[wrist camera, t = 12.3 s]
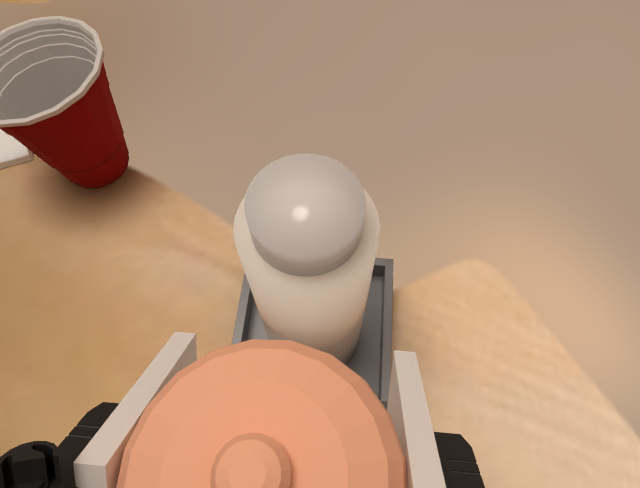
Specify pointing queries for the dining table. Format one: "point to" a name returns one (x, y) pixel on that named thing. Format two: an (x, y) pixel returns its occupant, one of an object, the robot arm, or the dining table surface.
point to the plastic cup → (61, 99)
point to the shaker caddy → (374, 333)
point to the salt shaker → (309, 251)
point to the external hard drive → (12, 151)
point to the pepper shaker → (264, 425)
